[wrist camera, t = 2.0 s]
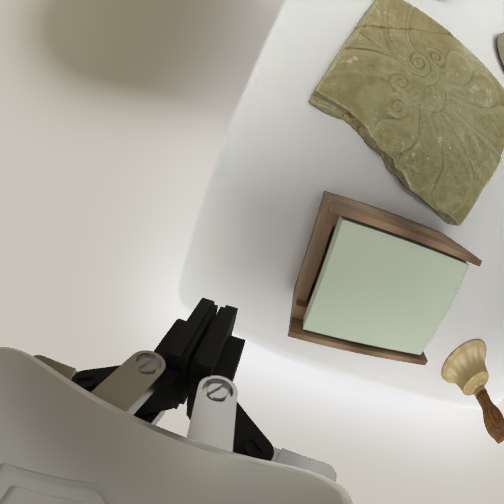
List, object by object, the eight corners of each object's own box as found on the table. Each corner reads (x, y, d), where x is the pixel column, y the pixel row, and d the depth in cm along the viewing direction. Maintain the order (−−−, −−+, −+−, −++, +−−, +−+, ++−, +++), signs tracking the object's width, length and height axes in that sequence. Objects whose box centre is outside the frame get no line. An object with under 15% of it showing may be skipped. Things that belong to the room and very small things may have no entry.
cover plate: (459, 257, 18) (468, 264, 17) (415, 343, 22) (420, 354, 20) (339, 214, 20) (342, 219, 18) (303, 317, 23) (302, 329, 21)
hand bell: (431, 373, 29) (461, 461, 15) (470, 331, 26) (519, 413, 12) (457, 385, 29) (486, 461, 15) (492, 348, 26) (534, 419, 12)
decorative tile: (378, -3, 16) (385, -18, 13) (507, 111, 17) (524, 109, 13) (295, 111, 23) (294, 104, 20) (444, 229, 24) (459, 239, 21)
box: (442, 233, 24) (481, 261, 16) (404, 319, 28) (424, 365, 20) (324, 191, 25) (333, 205, 17) (293, 290, 29) (287, 336, 21)
